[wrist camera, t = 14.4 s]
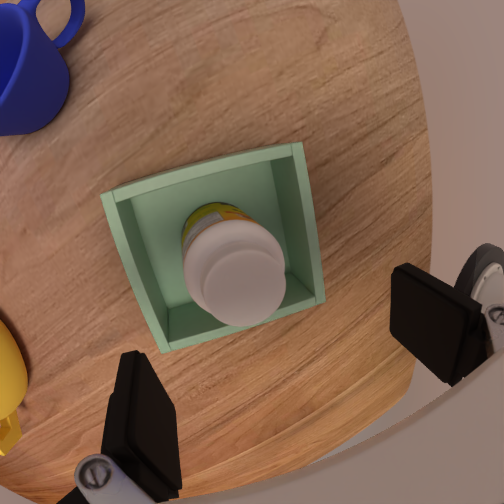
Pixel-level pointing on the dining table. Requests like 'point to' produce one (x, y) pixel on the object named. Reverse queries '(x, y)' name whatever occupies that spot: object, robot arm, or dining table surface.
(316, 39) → the dining table surface
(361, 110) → the dining table surface
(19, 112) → the mug
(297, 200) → the bin
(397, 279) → the robot arm
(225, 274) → the supplement bottle
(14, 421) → the teapot
